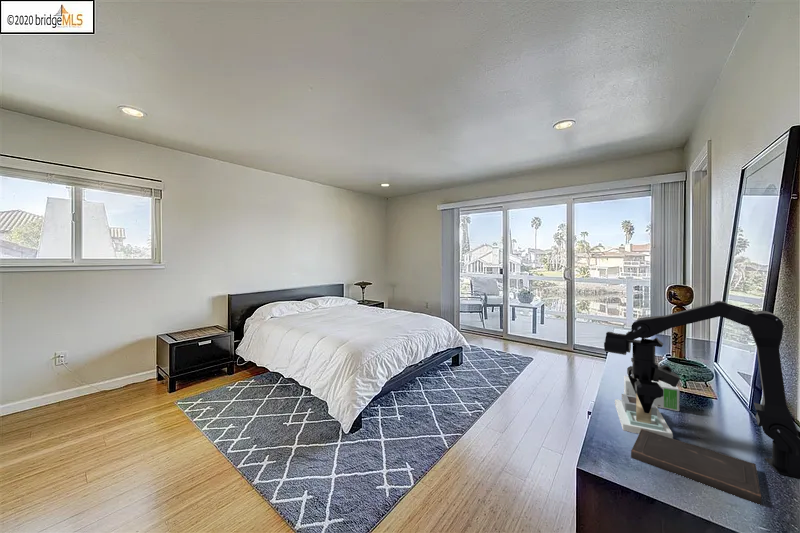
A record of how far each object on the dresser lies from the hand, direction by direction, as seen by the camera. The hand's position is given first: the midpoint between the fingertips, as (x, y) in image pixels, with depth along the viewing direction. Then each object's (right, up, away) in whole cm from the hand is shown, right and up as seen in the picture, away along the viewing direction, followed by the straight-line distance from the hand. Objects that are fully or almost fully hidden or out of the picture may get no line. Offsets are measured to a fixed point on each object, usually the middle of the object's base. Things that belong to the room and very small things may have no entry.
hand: (643, 406), depth 98 cm
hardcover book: (-1, -8, -18) cm, 19 cm away
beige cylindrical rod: (0, -5, 0) cm, 5 cm away
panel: (+2, -7, +4) cm, 8 cm away
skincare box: (+22, -2, +13) cm, 26 cm away
